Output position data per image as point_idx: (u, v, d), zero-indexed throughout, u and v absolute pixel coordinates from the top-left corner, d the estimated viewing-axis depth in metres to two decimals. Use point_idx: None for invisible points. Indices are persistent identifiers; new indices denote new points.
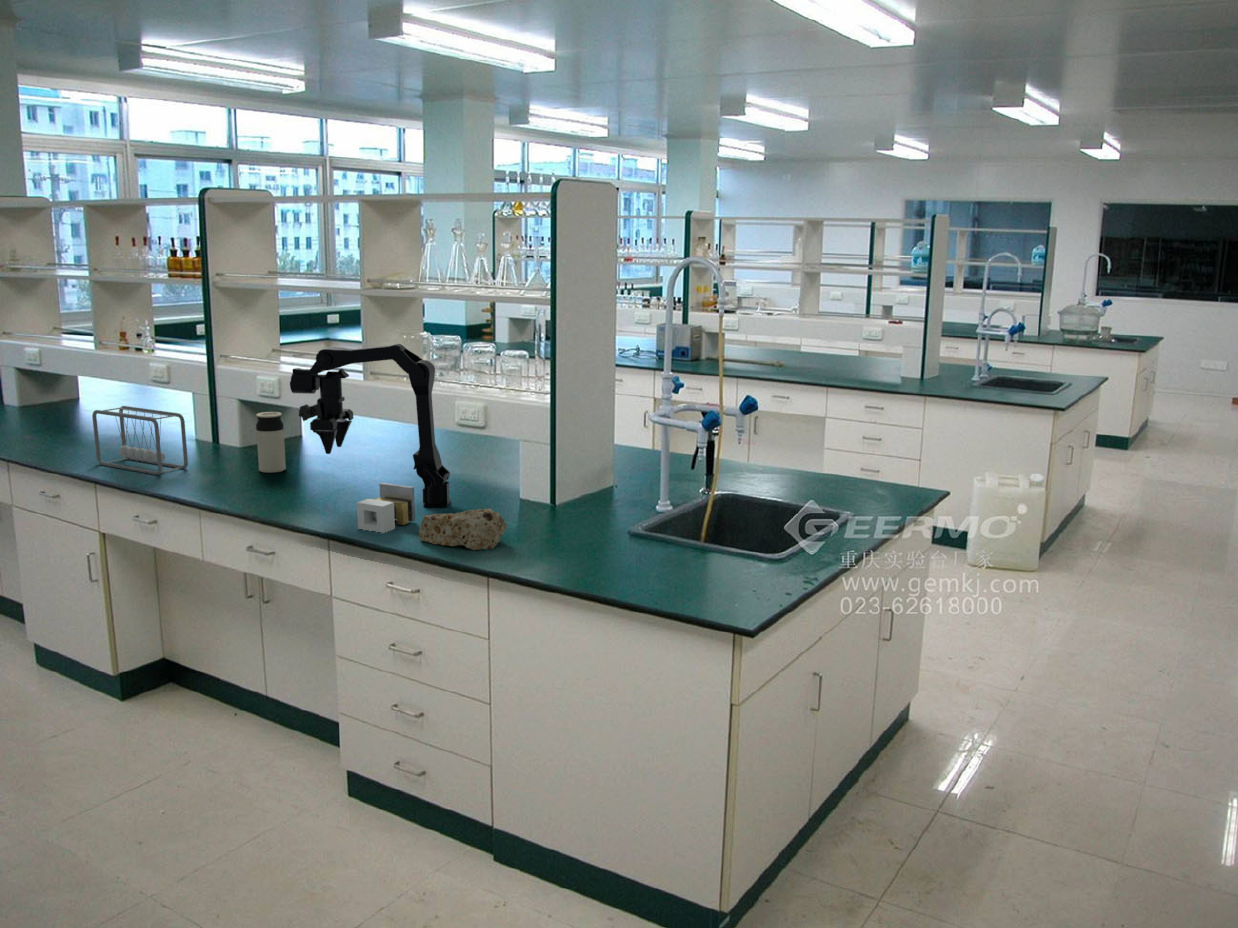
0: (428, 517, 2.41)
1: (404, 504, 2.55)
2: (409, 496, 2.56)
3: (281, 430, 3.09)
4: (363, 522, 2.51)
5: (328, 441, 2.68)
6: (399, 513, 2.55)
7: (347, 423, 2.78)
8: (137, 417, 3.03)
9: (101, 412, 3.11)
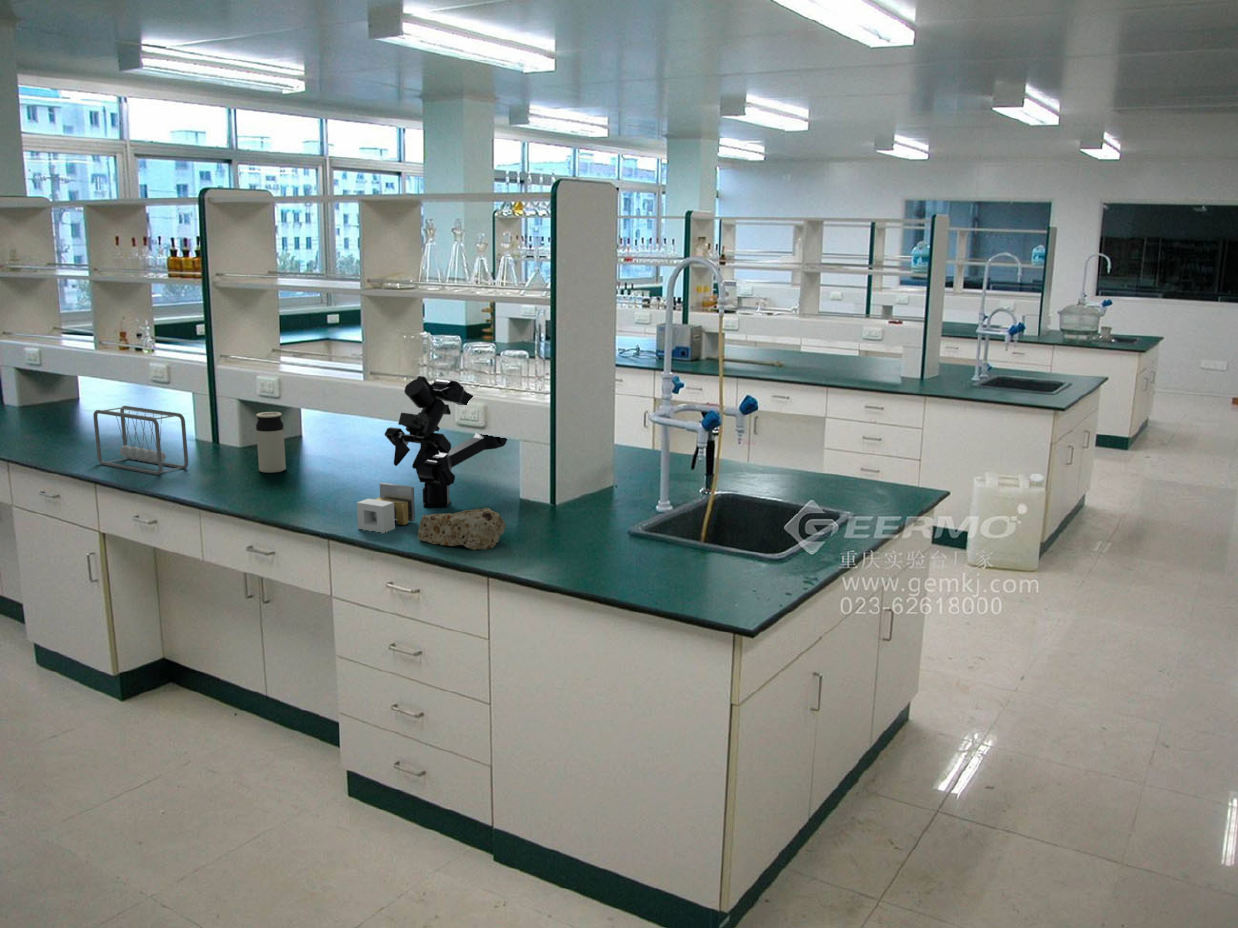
0: (427, 517, 2.41)
1: (404, 504, 2.55)
2: (409, 496, 2.56)
3: (281, 430, 3.09)
4: (363, 522, 2.51)
5: (424, 458, 2.62)
6: (399, 513, 2.55)
7: (408, 449, 2.68)
8: (138, 417, 3.03)
9: (102, 412, 3.11)
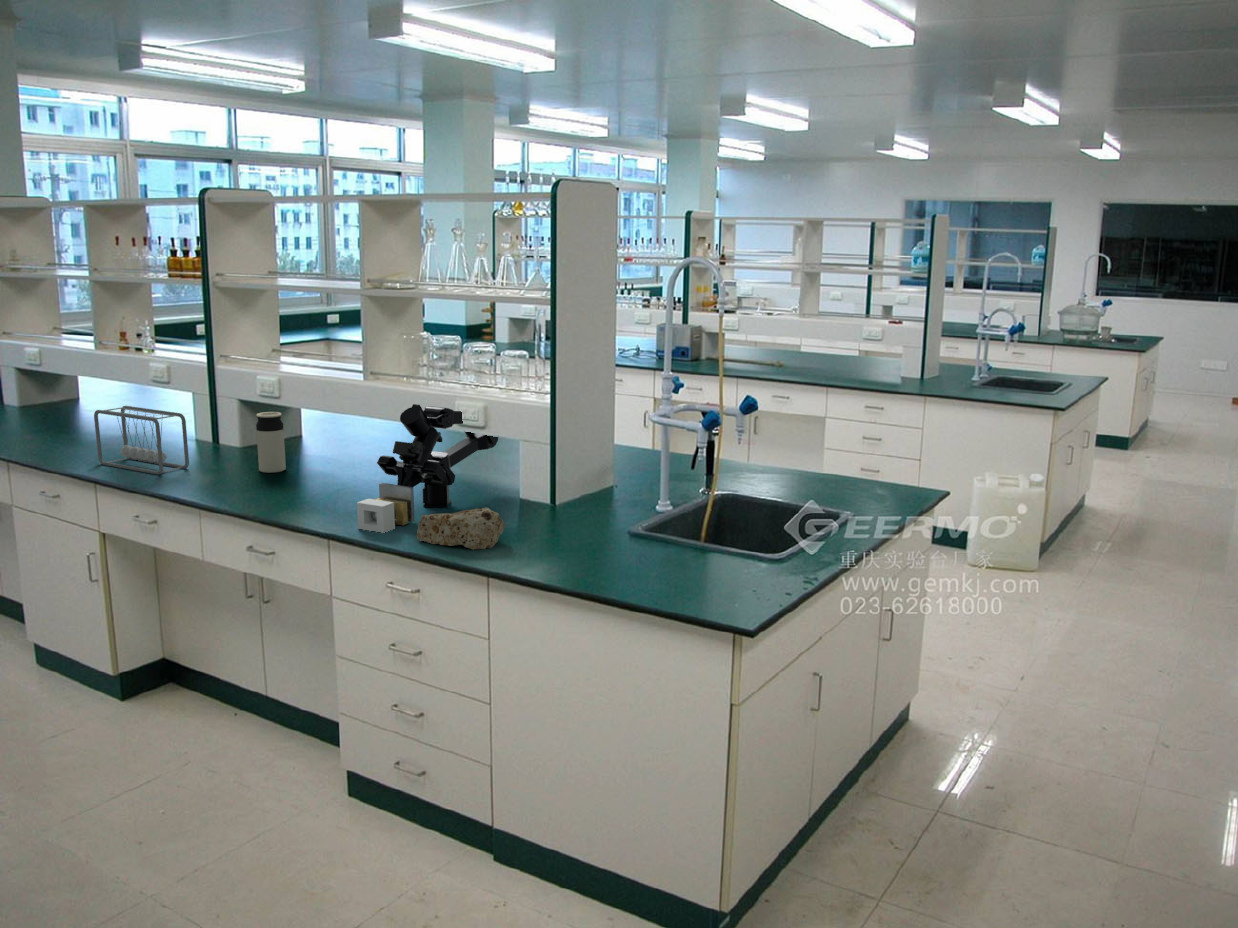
0: (426, 517, 2.41)
1: (404, 504, 2.55)
2: (409, 496, 2.56)
3: (281, 430, 3.09)
4: (363, 522, 2.51)
5: (409, 485, 2.61)
6: (398, 513, 2.55)
7: None
8: (138, 417, 3.04)
9: (103, 412, 3.11)
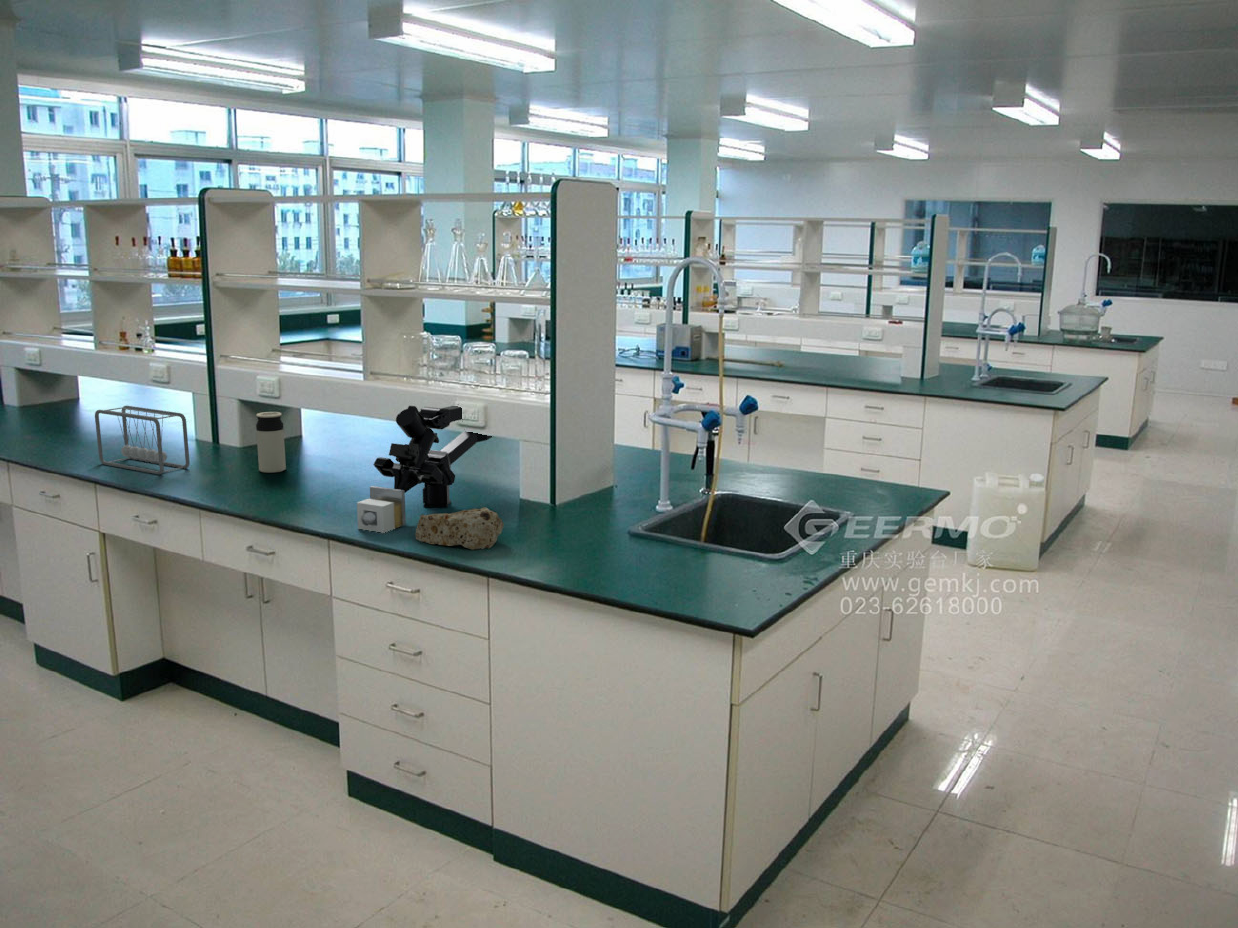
0: (425, 517, 2.41)
1: (397, 507, 2.52)
2: (400, 499, 2.53)
3: (281, 430, 3.09)
4: None
5: (406, 487, 2.60)
6: None
7: None
8: (139, 417, 3.04)
9: (103, 412, 3.12)
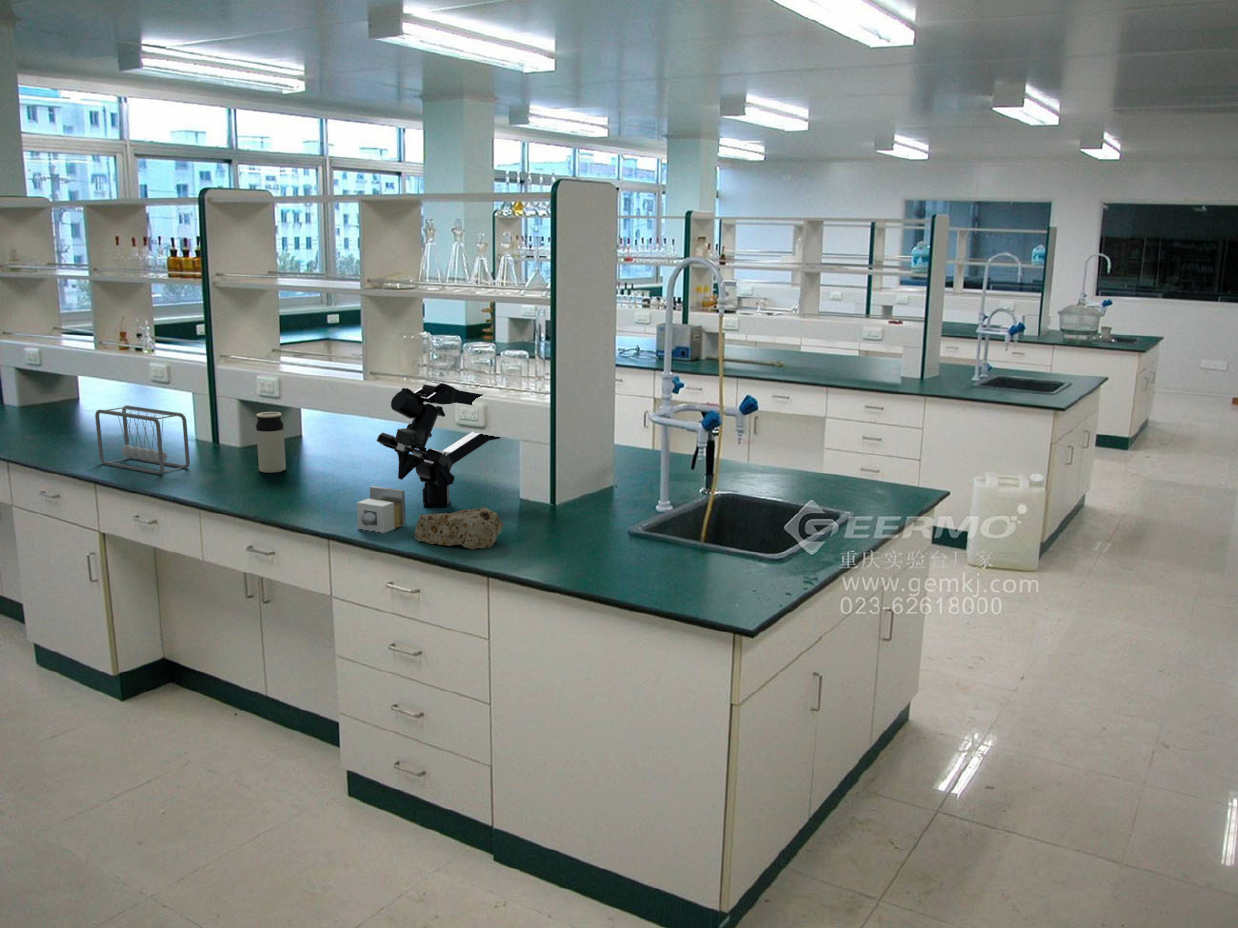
0: (424, 517, 2.41)
1: (397, 507, 2.52)
2: (400, 499, 2.53)
3: (281, 430, 3.09)
4: None
5: (410, 468, 2.66)
6: None
7: None
8: (139, 417, 3.04)
9: (104, 412, 3.12)
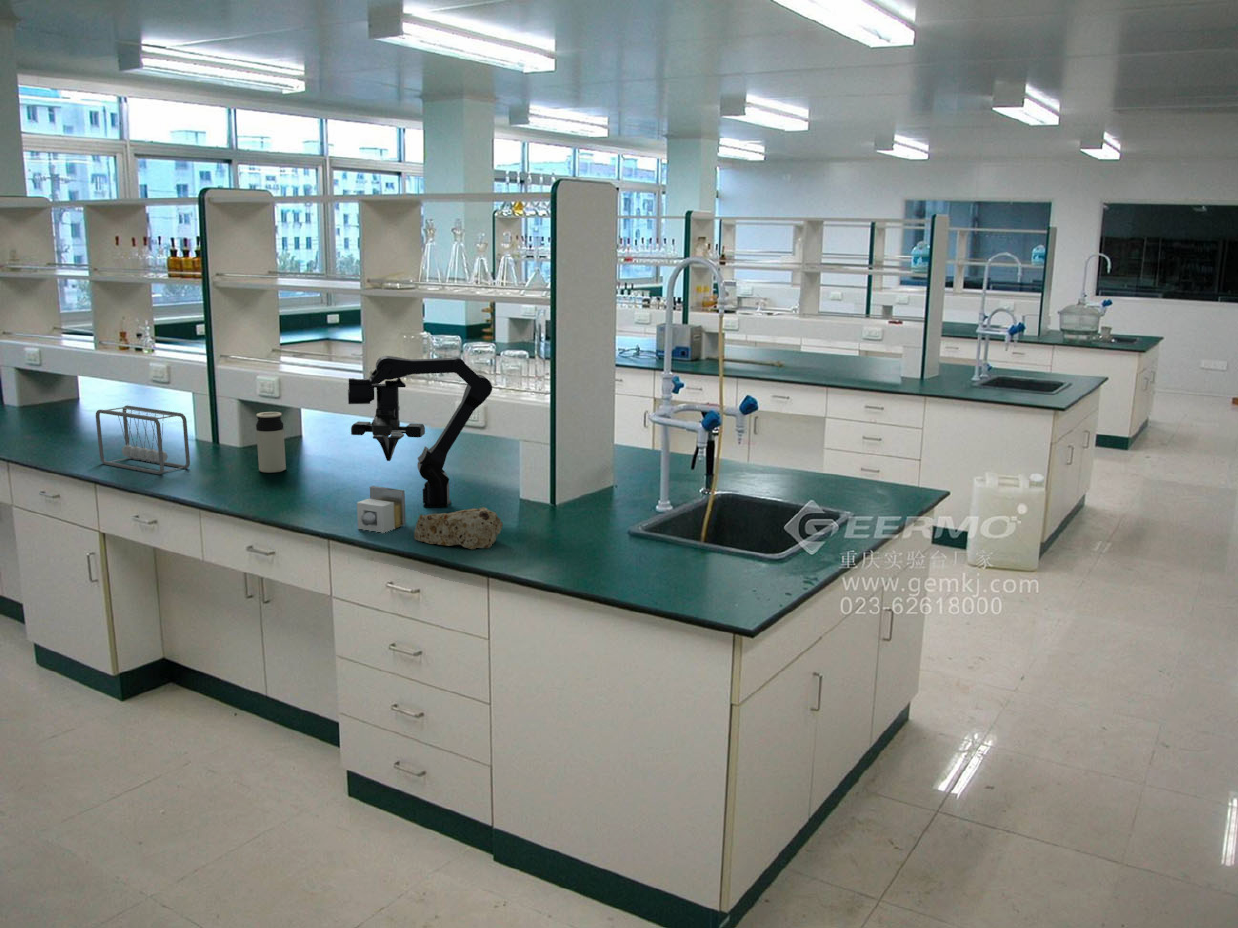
0: (424, 517, 2.41)
1: (397, 507, 2.52)
2: (400, 499, 2.53)
3: (281, 430, 3.09)
4: None
5: (394, 447, 2.70)
6: None
7: None
8: (139, 417, 3.04)
9: (104, 412, 3.12)
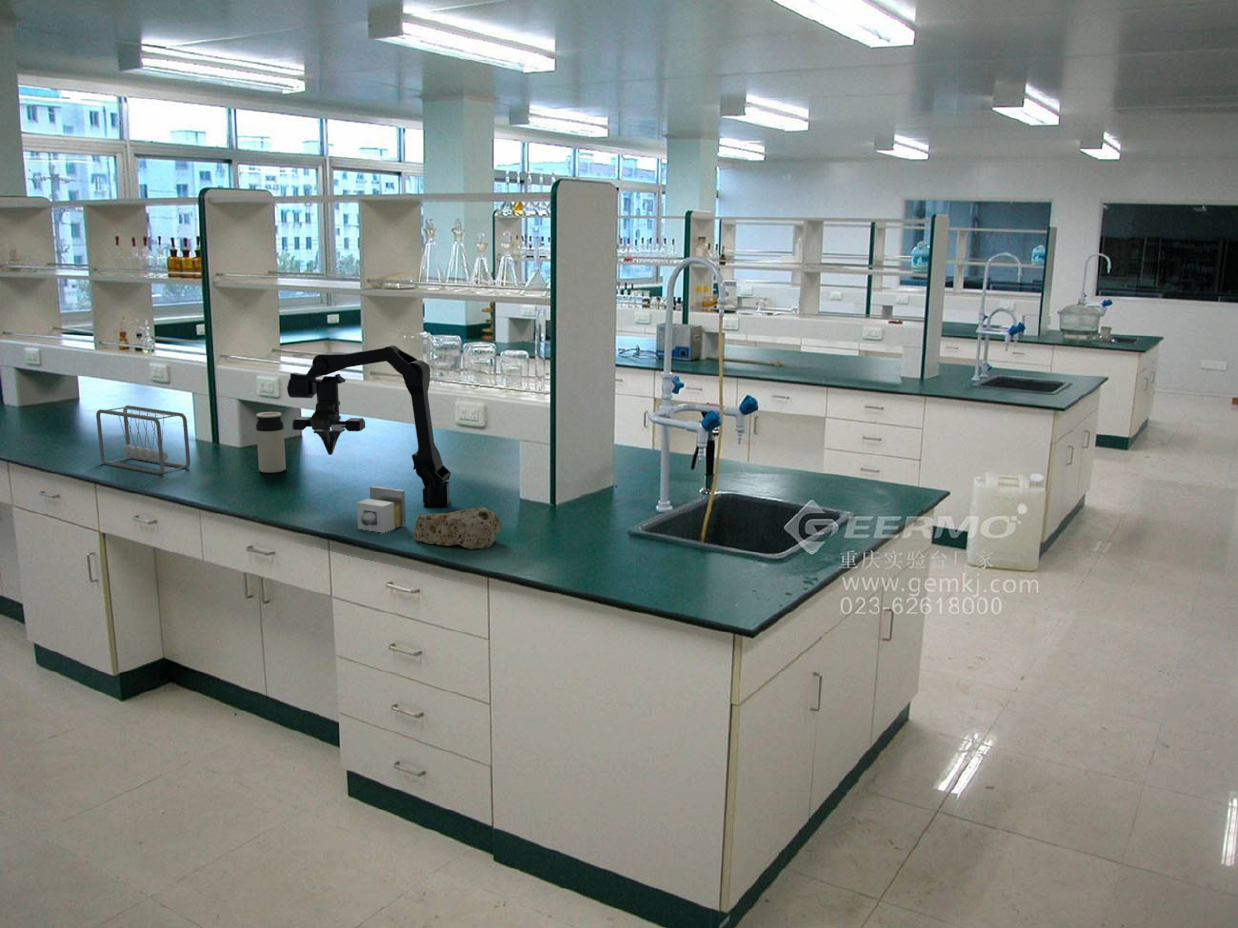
0: (423, 517, 2.41)
1: (397, 507, 2.52)
2: (400, 499, 2.53)
3: (281, 430, 3.09)
4: None
5: (335, 441, 2.76)
6: None
7: (329, 429, 2.77)
8: (140, 417, 3.04)
9: (105, 411, 3.12)
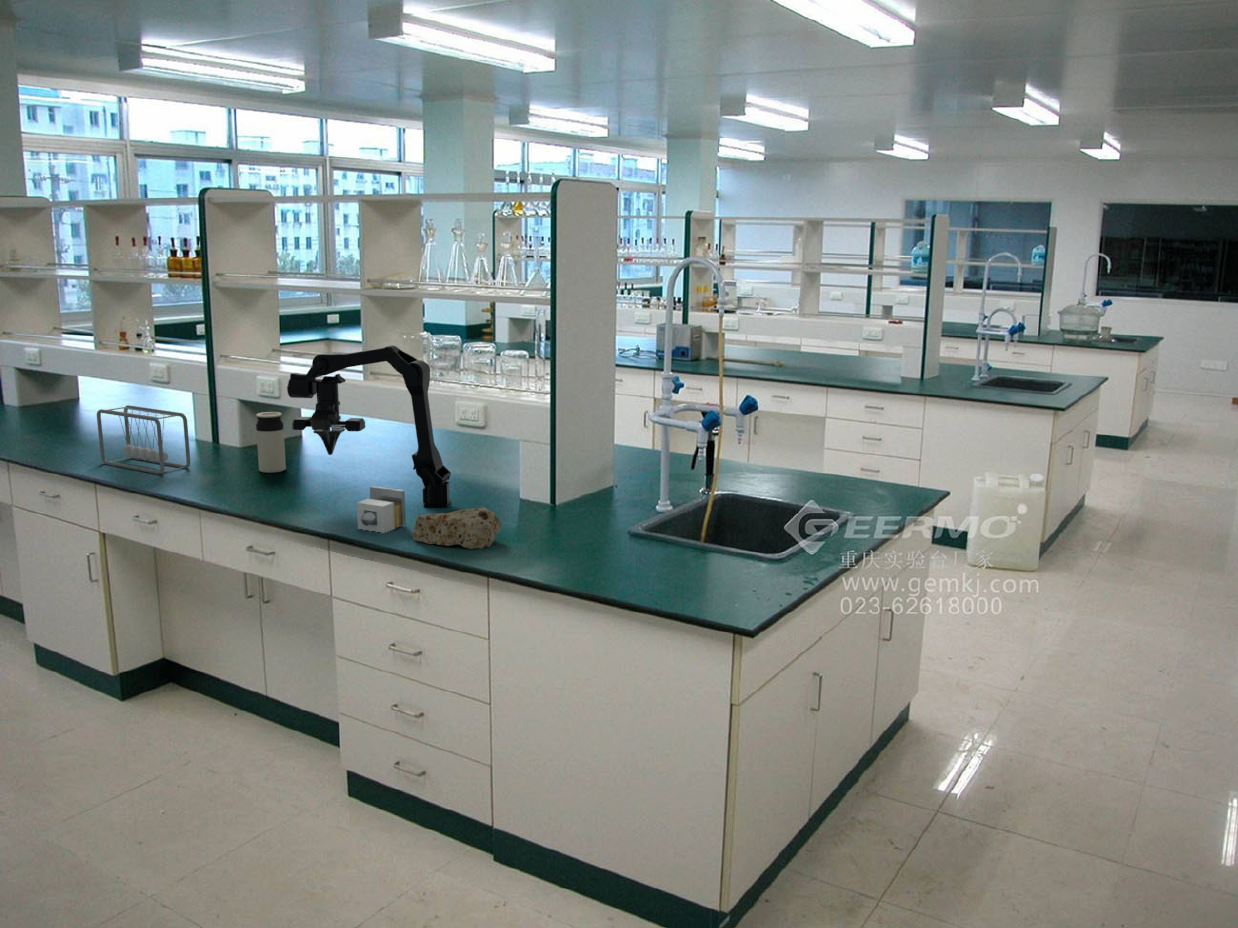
0: (423, 517, 2.41)
1: (397, 507, 2.52)
2: (400, 499, 2.53)
3: (281, 430, 3.09)
4: None
5: (335, 441, 2.76)
6: None
7: (329, 429, 2.77)
8: (140, 417, 3.04)
9: (105, 411, 3.12)
